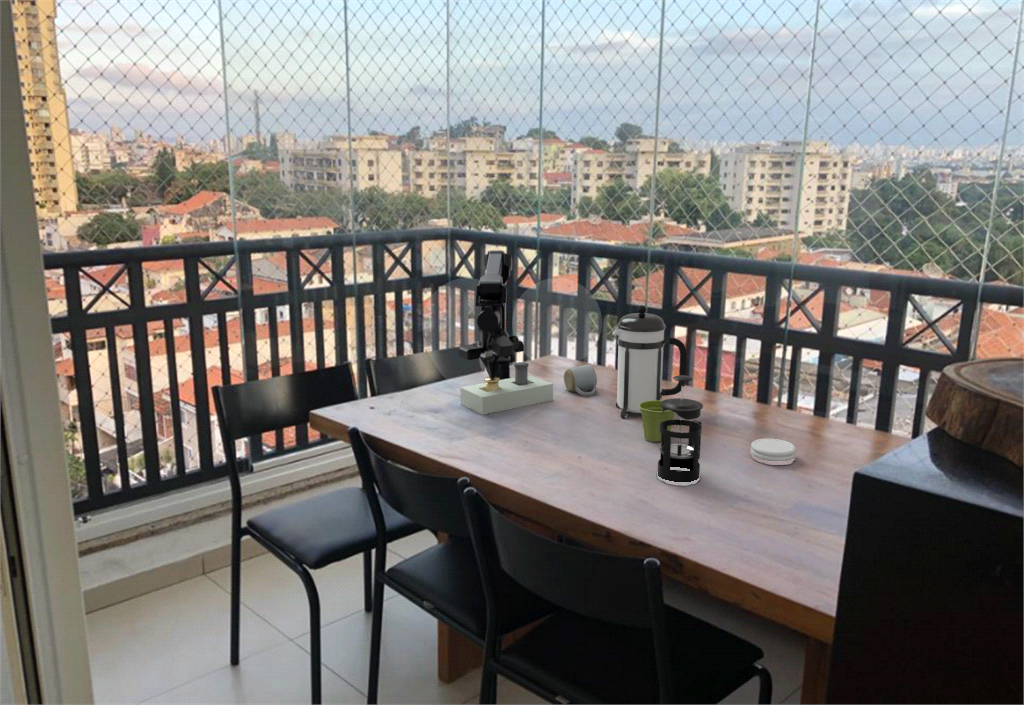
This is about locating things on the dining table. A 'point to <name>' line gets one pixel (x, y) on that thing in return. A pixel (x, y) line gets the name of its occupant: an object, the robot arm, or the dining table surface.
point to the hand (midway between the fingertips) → (492, 378)
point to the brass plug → (492, 384)
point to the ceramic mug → (581, 379)
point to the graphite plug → (521, 373)
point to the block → (506, 395)
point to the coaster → (773, 449)
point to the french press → (680, 452)
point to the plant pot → (654, 419)
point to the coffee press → (643, 360)
